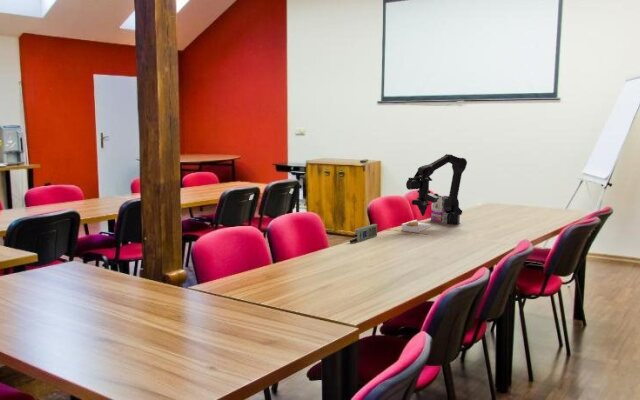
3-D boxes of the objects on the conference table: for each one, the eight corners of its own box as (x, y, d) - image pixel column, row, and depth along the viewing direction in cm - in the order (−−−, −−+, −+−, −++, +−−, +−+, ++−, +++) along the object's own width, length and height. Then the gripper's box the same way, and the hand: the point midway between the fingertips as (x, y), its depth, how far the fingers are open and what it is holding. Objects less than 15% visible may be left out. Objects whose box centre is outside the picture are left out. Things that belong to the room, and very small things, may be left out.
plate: (435, 225, 345) (435, 224, 345) (430, 227, 340) (430, 226, 339) (424, 224, 349) (424, 223, 349) (419, 225, 344) (419, 225, 344)
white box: (431, 227, 338) (431, 221, 337) (417, 232, 324) (417, 226, 323) (415, 225, 344) (415, 219, 343) (401, 230, 330) (401, 224, 329)
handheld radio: (378, 236, 313) (353, 244, 293) (372, 236, 315) (347, 243, 295) (378, 224, 313) (353, 231, 292) (372, 223, 315) (347, 230, 294)
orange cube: (418, 222, 330) (415, 223, 327) (417, 230, 330) (414, 231, 327) (410, 221, 332) (407, 222, 329) (410, 229, 333) (407, 230, 330)
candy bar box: (448, 222, 354) (449, 195, 352) (441, 223, 352) (442, 196, 350) (437, 220, 364) (437, 193, 362) (430, 220, 362) (431, 194, 360)
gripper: (429, 191, 325) (428, 219, 327) (443, 188, 340) (442, 215, 342) (411, 190, 331) (410, 217, 333) (426, 186, 346) (425, 213, 348)
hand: (423, 215), depth 339 cm, fingers closed
